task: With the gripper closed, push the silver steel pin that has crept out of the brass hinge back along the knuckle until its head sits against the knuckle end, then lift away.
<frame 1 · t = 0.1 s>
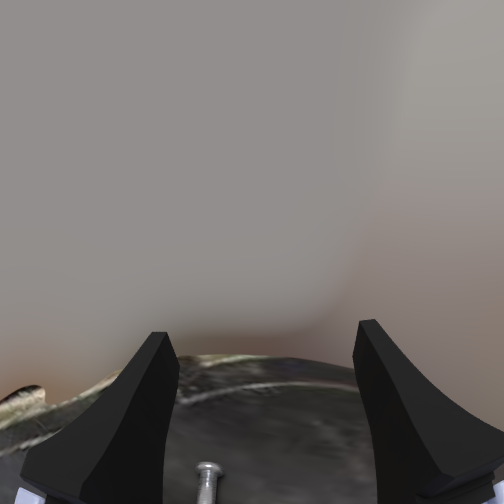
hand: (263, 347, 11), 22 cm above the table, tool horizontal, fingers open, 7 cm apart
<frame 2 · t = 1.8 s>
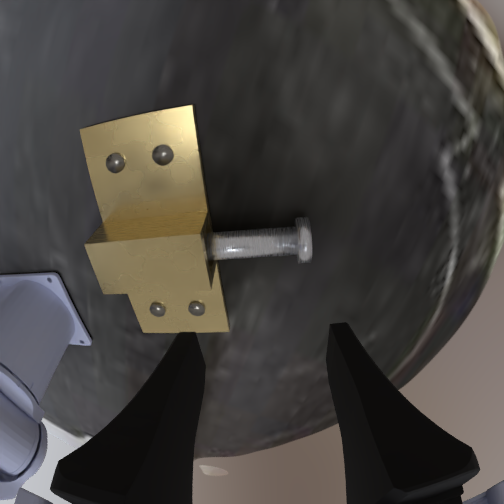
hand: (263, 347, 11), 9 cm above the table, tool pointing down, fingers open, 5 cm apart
hinge pin: (233, 244, 18), point 2 cm above the table, slide at 4.5 cm
hinge leaves: (160, 237, 20), on the table
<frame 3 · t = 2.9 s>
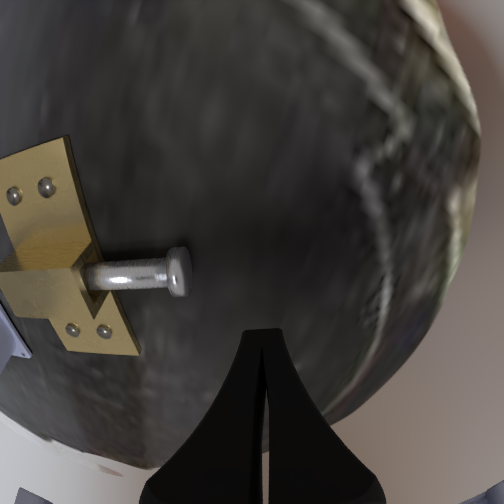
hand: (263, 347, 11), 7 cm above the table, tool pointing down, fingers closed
hinge pin: (113, 275, 17), point 2 cm above the table, slide at 4.5 cm
hinge leaves: (62, 264, 18), on the table
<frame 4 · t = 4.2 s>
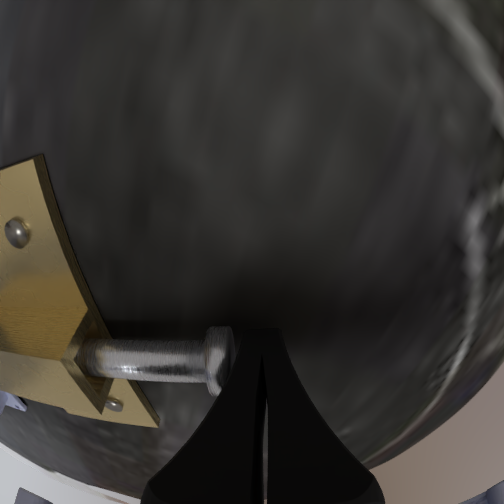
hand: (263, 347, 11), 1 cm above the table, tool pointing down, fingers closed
hinge pin: (123, 359, 11), point 2 cm above the table, slide at 4.5 cm, touching gripper
hinge leaves: (51, 327, 13), on the table
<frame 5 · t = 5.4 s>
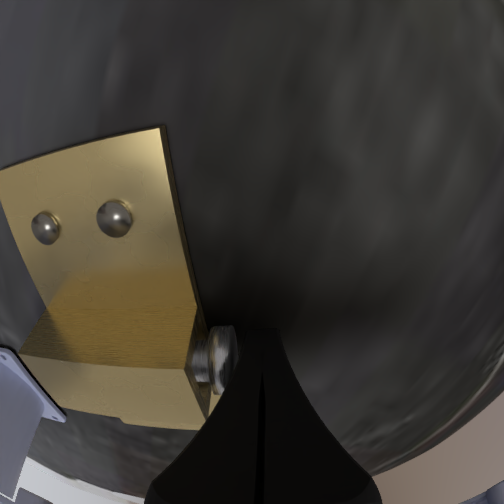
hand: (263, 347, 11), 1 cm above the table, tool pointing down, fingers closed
hinge pin: (125, 359, 11), point 2 cm above the table, slide at 0.0 cm, touching gripper
hinge leaves: (130, 331, 13), on the table
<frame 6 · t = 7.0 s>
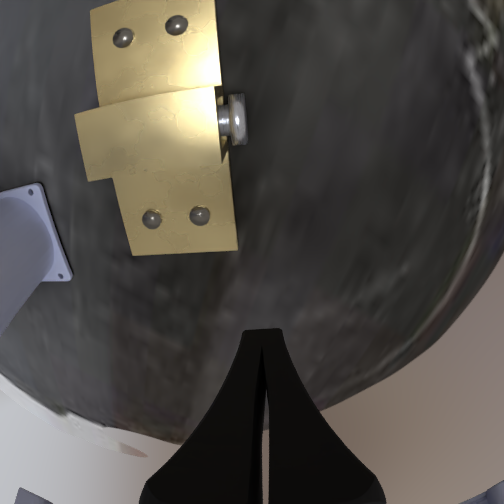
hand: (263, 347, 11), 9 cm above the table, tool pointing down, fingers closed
hinge pin: (160, 128, 15), point 2 cm above the table, slide at 0.0 cm
hinge leaves: (163, 124, 16), on the table
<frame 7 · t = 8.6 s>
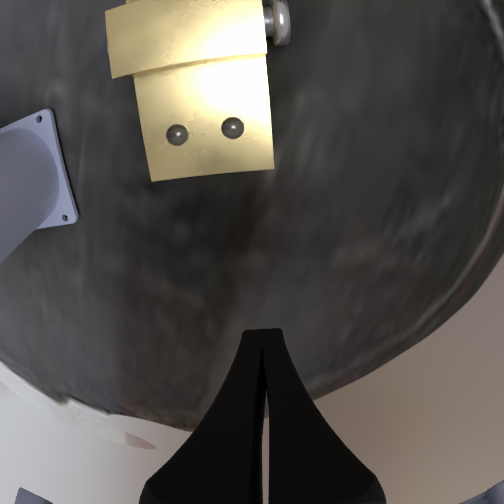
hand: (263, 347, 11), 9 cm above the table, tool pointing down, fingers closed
hinge pin: (195, 29, 12), point 2 cm above the table, slide at 0.0 cm
hinge leaves: (195, 34, 13), on the table
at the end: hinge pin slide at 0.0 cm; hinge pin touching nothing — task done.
